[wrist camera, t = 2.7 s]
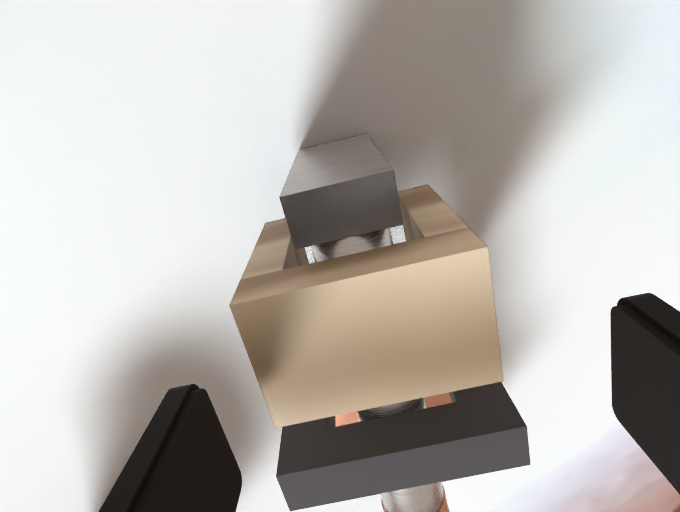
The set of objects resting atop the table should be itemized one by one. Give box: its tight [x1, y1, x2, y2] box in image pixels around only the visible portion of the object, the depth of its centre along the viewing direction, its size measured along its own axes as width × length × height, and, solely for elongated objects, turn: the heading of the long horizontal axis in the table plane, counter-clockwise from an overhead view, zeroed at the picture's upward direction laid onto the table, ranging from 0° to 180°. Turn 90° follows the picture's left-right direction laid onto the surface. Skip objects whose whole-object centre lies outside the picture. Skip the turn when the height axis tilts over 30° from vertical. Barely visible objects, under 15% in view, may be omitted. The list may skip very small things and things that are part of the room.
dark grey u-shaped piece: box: [276, 382, 530, 511], centre depth 17 cm, size 2×7×9 cm, turn 103°
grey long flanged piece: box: [280, 133, 452, 512], centre depth 19 cm, size 20×10×8 cm, turn 13°
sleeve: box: [230, 185, 503, 428], centre depth 14 cm, size 4×6×7 cm, turn 103°
